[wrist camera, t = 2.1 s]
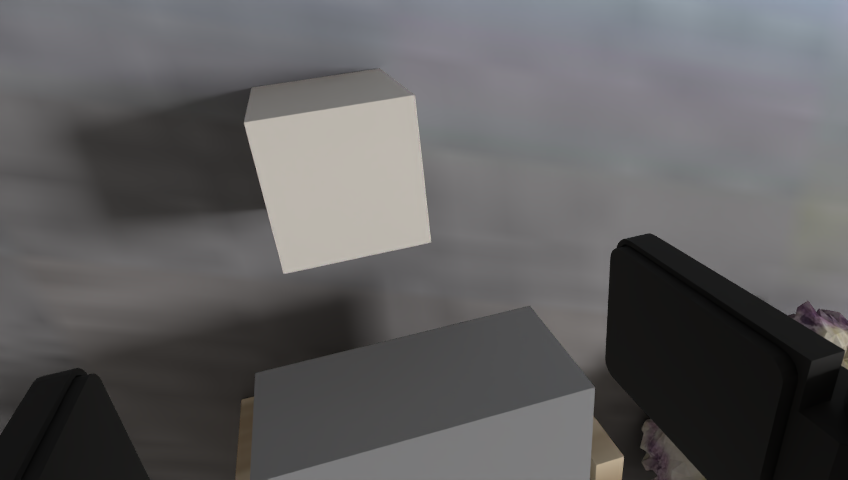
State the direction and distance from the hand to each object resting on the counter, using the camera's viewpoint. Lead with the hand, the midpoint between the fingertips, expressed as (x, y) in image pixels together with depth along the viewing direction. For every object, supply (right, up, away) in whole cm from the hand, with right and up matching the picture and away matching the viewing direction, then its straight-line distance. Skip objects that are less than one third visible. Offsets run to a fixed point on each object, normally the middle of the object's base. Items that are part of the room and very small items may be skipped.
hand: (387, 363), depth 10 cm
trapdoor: (+1, -10, +15) cm, 19 cm away
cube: (-3, +6, +12) cm, 14 cm away
